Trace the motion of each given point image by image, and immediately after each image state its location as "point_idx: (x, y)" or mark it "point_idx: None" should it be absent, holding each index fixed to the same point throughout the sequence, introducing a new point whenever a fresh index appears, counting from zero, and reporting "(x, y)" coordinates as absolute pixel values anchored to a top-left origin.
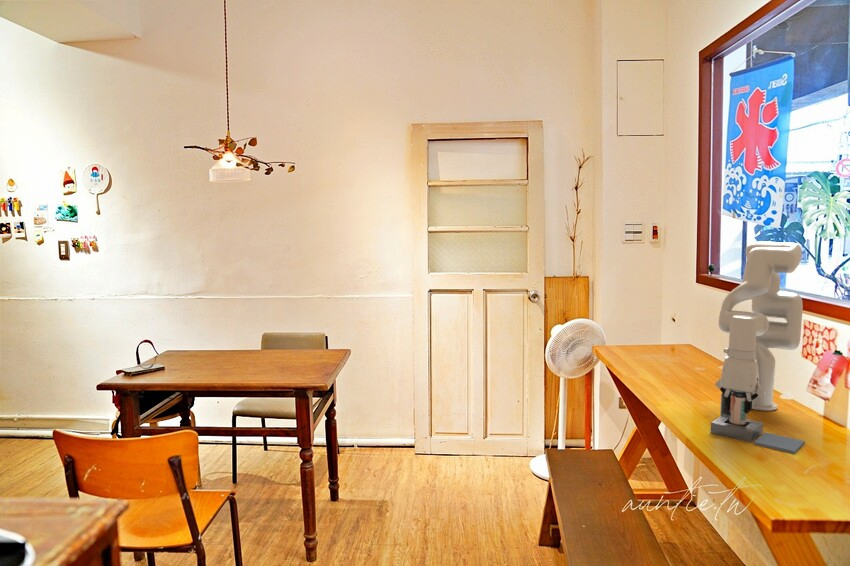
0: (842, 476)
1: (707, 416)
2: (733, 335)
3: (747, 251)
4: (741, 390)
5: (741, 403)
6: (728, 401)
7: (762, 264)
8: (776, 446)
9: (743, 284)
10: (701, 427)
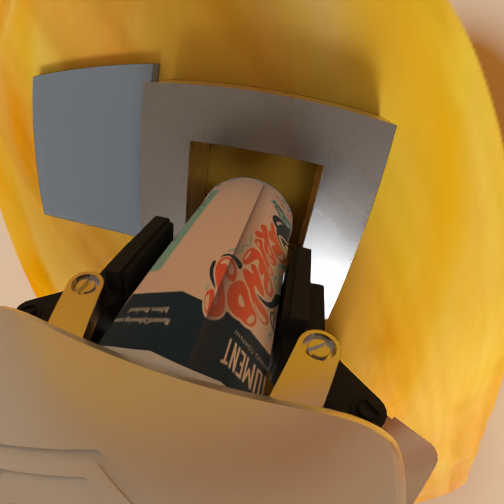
0: None
1: (380, 344)
2: None
3: None
4: (74, 346)
5: (164, 255)
6: (294, 290)
7: None
8: (76, 76)
9: None
10: (421, 194)
